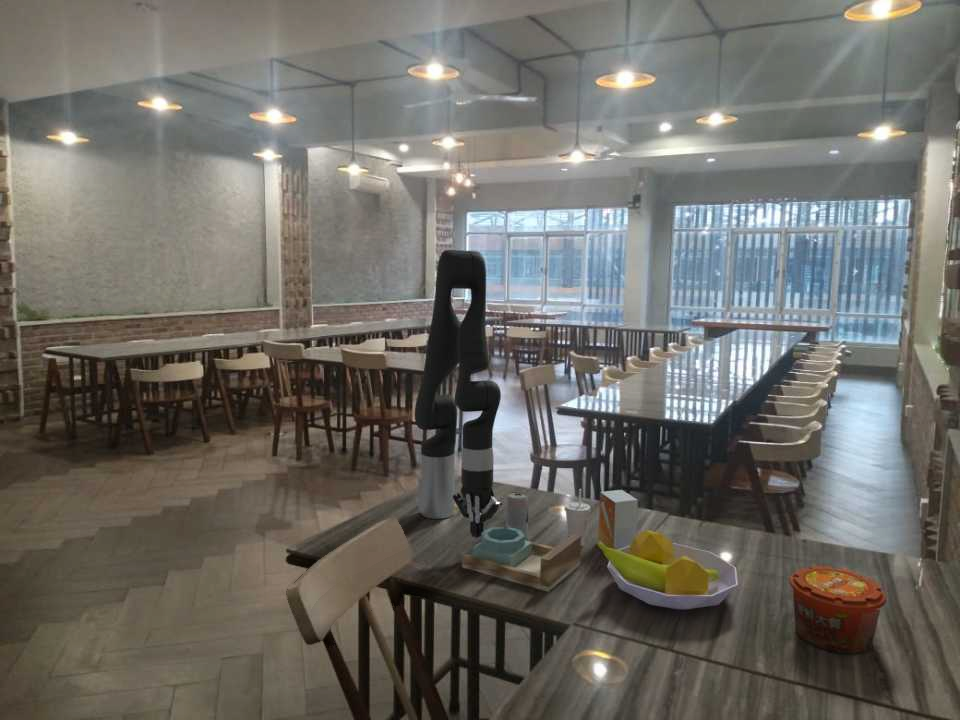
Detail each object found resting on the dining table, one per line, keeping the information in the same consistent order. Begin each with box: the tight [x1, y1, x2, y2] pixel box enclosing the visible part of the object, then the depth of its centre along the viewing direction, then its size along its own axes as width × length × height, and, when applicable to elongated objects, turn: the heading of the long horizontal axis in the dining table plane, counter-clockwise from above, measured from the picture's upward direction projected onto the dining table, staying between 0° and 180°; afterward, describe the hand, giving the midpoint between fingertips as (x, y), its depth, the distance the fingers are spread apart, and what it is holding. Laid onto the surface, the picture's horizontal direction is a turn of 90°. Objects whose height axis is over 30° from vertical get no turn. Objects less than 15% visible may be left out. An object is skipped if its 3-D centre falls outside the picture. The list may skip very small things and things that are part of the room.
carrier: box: [472, 526, 533, 567], centre depth 163 cm, size 10×10×5 cm
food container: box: [788, 565, 887, 655], centre depth 130 cm, size 16×16×11 cm
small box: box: [597, 489, 639, 550], centre depth 171 cm, size 8×6×13 cm
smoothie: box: [563, 488, 591, 547], centre depth 173 cm, size 6×6×14 cm
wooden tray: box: [461, 534, 582, 593], centre depth 160 cm, size 22×16×7 cm
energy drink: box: [506, 491, 529, 541], centre depth 174 cm, size 5×5×12 cm
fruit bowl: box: [596, 529, 739, 611], centre depth 147 cm, size 28×27×11 cm
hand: (476, 536), depth 166 cm, fingers closed
